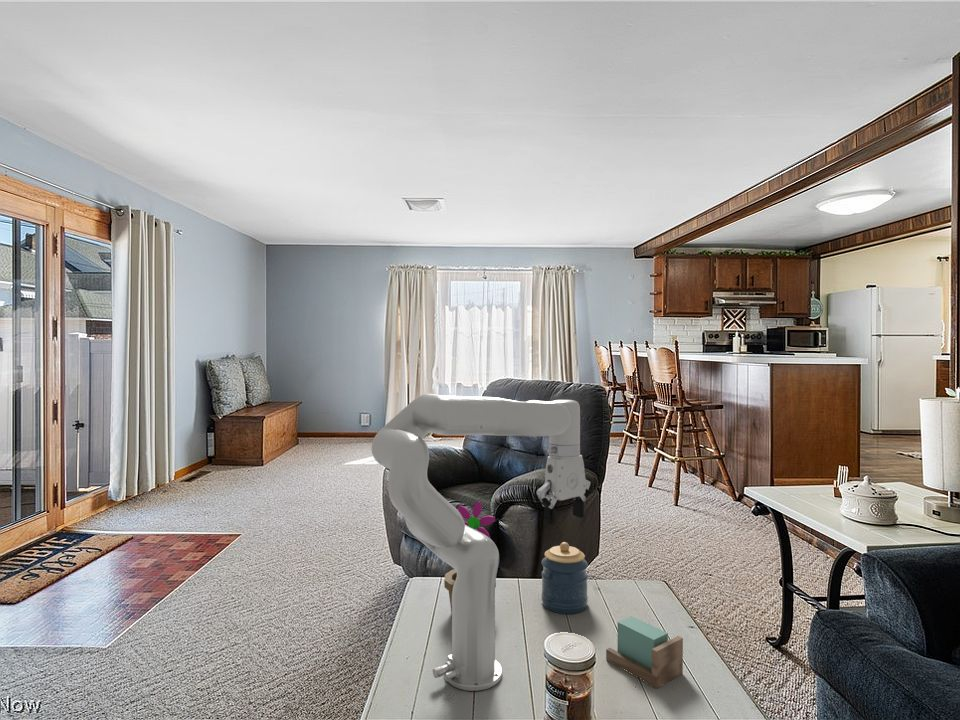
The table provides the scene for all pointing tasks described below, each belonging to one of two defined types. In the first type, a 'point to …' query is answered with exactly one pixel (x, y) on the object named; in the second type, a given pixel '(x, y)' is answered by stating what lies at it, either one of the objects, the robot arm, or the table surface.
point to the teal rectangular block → (639, 640)
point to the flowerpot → (474, 524)
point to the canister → (564, 579)
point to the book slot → (654, 662)
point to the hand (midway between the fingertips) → (564, 520)
